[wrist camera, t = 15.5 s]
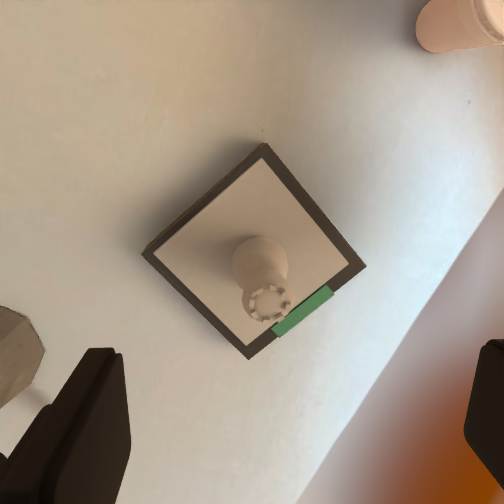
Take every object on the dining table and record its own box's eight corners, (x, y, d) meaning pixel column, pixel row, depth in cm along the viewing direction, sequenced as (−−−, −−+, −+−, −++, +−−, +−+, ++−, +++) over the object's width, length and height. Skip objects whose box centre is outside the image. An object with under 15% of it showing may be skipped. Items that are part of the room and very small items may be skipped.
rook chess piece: (222, 278, 30) (221, 326, 23) (242, 227, 29) (248, 259, 22) (274, 295, 31) (290, 347, 23) (295, 246, 30) (319, 284, 22)
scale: (357, 257, 34) (369, 269, 31) (246, 346, 36) (248, 364, 33) (263, 142, 30) (267, 143, 28) (146, 246, 32) (138, 257, 29)
